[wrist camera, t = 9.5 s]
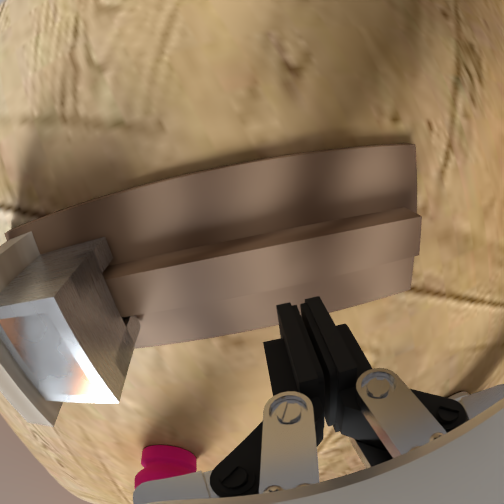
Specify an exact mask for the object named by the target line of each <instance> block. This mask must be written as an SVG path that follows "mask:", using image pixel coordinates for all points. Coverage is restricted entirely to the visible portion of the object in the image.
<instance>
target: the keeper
mask: <svg viewBox="0 0 504 504" xmlns="http://www.w3.org/2000/svg"><path fill="white" fill-rule="evenodd" d="M112 259H113V257H112V254H111V251H110V248H109V246H108V243H107V240H106V237H102V238H98V239H94V240H91V241H87V242H83V243H80V244H76V245H72V246H69V247H65V248H62V249H58V250H55V251H51V252H48V253H44V254H41V255H40V256H38V257H37V258H36V259H35V260H34V261H33V262H32V263H31V264H30V265H28V266H27V267H26V268H25V269H24V270H23V271H22V272H21V273H20V274H19V275H18V276H17V277H16V278H15V279H14V280H13V281H12V282H11V283H10V284H9V285H8V286H7V287H6V288H5V289H4V290H3V291H2V292H1V293H0V338H1V339H2V341H3V343H4V344H5V346H6V347H7V349H8V350H9V352H10V353H11V355H12V356H13V358H14V359H15V361H16V362H17V364H18V365H19V366H20V368H21V369H22V371H23V372H24V373H25V375H26V376H27V377H28V379H29V380H30V381H31V383H32V384H33V385H34V386H35V388H36V389H37V390H38V391H39V393H40V394H41V395H42V396H43V397H44V399H45V400H46V401H59V402H78V403H119V401H120V397H121V393H122V389H123V386H124V382H125V378H126V375H127V371H128V367H129V364H130V360H131V357H132V354H133V350H134V347H135V344H136V340H137V337H138V334H139V331H140V328H141V325H140V323H139V320H138V318H137V316H136V315H134V316H127V317H121V315H120V313H119V311H118V309H117V307H116V304H115V302H114V300H113V298H112V295H111V293H110V291H109V288H108V286H107V284H106V281H105V279H104V276H103V274H102V273H103V272H104V270H105V269H106V267H107V266H108V265H109V263H110V262H111V260H112Z"/></svg>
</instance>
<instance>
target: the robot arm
mask: <svg viewBox="0 0 504 504" xmlns="http://www.w3.org/2000/svg"><path fill="white" fill-rule="evenodd" d="M276 309H277V315H278V322H279V328H280V335H281V339H276V340H271V341H266V342H263V344H264V349H265V354H266V360H267V365H268V371H269V376H270V381H271V387H272V392H273V397H272V398H271V399H269V400H268V402H267V403H266V405H265V407H264V411H263V421H262V422H261V423H260V424H259V425H258V426H257V427H256V428H255V429H254V430H253V431H252V433H251V434H250V435H249V436H248V437H247V438H246V439H245V440H243V441H242V442H241V443H240V444H239V445H238V446H237V447H236V448H235V449H234V450H233V451H232V452H231V453H230V454H229V455H228V456H227V457H226V458H225V459H224V460H222V461H221V462H220V463H219V464H218V465H217V466H216V467H215V468H214V470H212V471H208V472H204V473H202V471H198V472H194V473H190V474H185V475H180V476H175V477H170V478H165V479H159V480H153V481H147V482H144V483H141V484H140V485H139V486H138V487H136V489H135V491H134V493H133V502H134V504H504V384H501V385H497V386H494V387H492V388H489V389H486V390H483V391H480V392H477V393H474V394H471V395H469V393H468V392H459V393H456V394H454V395H452V396H450V397H448V398H446V397H441V396H437V395H433V394H429V393H424V392H420V391H417V390H413V389H409V388H408V387H407V385H406V384H405V383H404V382H403V381H402V380H401V379H400V378H399V376H398V375H397V374H395V373H394V372H393V371H391V370H388V369H384V368H374V369H372V367H371V365H370V364H369V362H368V360H367V358H366V357H365V355H364V353H363V351H362V350H361V348H360V346H359V344H358V343H357V341H356V339H355V338H354V336H353V334H352V332H351V331H350V329H349V327H348V326H347V325H346V324H342V325H338V326H335V324H334V322H333V320H332V318H331V316H330V315H329V313H328V311H327V309H326V307H325V305H324V304H323V302H322V300H321V298H320V297H319V296H316V297H312V298H307V299H305V303H302V304H300V309H301V315H300V312H299V310H298V307H297V305H293V306H292V305H291V303H290V302H289V303H284V304H279V305H276ZM324 416H325V419H326V422H327V425H328V426H332V425H333V427H334V430H335V432H338V431H340V432H341V434H343V435H346V436H348V437H349V439H350V442H351V444H352V445H353V447H354V449H355V451H356V452H357V454H358V456H359V457H360V459H361V461H362V462H363V464H364V466H365V467H366V469H364V470H361V471H358V472H355V473H352V474H348V475H345V476H342V477H338V478H335V479H331V480H327V481H324V482H320V483H319V471H318V457H317V446H318V445H319V444H320V442H321V441H322V440H323V428H324Z"/></svg>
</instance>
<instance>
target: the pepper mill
mask: <svg viewBox="0 0 504 504" xmlns="http://www.w3.org/2000/svg"><path fill="white" fill-rule="evenodd" d="M141 464H142V466H143V467H144V469H143V470H141V471H140V472H139V473H138V474H137V475H136V476H135V489H136V487H138V486H139V485H140V484H141V483H144V482H147V481H153V480H159V479H165V478H170V477H175V476H180V475H185V474H190V473H194V472H196V470H197V468H196V457H195V456H194V455H193V454H192V453H191V452H189V451H187V450H185V449H182V448H179V447H174V446H168V445H153V446H148V447H146V448H145V449H144V450H143V451H142V459H141Z"/></svg>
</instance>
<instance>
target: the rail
mask: <svg viewBox="0 0 504 504" xmlns="http://www.w3.org/2000/svg"><path fill="white" fill-rule="evenodd" d="M421 220H422V216H420V215H418V214H417V168H416V147H415V144H409V143H404V144H386V145H372V146H359V147H348V148H338V149H329V150H321V151H313V152H305V153H297V154H290V155H284V156H277V157H271V158H265V159H259V160H253V161H247V162H242V163H236V164H231V165H226V166H221V167H216V168H211V169H207V170H202V171H197V172H193V173H189V174H184V175H180V176H176V177H172V178H168V179H163V180H160V181H156V182H152V183H148V184H144V185H140V186H137V187H133V188H130V189H126V190H123V191H119V192H116V193H112V194H109V195H106V196H102V197H99V198H96V199H93V200H90V201H87V202H84V203H81V204H78V205H75V206H72V207H69V208H66V209H63V210H60V211H57V212H54V213H52V214H49V215H46V216H44V217H41V218H38V219H36V220H33V221H30V222H28V223H25V224H23V225H20V226H18V227H15V228H13V229H11V230H9V231H8V232H6V233H5V236H6V239H7V242H5V243H4V244H2V245H1V246H0V293H1V292H2V291H3V290H4V289H5V288H6V287H7V286H8V285H9V284H10V283H11V282H12V281H13V280H14V279H15V278H16V277H17V276H18V275H19V274H20V273H21V272H22V271H23V270H24V269H25V268H26V267H27V266H28V265H30V264H31V263H32V262H33V261H34V260H35V259H36V258H37V257H38V256H40V255H41V254H44V253H48V252H51V251H55V250H58V249H62V248H65V247H69V246H72V245H76V244H80V243H83V242H87V241H91V240H94V239H98V238H102V237H106V240H107V243H108V246H109V248H110V251H111V254H112V257H113V259H112V260H111V262H110V263H109V265H108V266H107V267H106V269H105V270H104V272H103V273H102V274H103V276H104V279H105V281H106V284H107V286H108V288H109V291H110V293H111V295H112V298H113V300H114V302H115V304H116V307H117V309H118V311H119V313H120V315H121V317H127V316H134V315H136V316H137V318H138V320H139V323H140V325H141V328H140V331H139V334H138V337H137V340H136V344H135V347H134V349H135V348H144V347H152V346H159V345H167V344H174V343H181V342H188V341H194V340H200V339H206V338H212V337H218V336H224V335H229V334H235V333H240V332H245V331H250V330H255V329H260V328H265V327H270V326H275V325H279V322H278V315H277V309H276V305H279V304H284V303H289V302H290V303H291V305H292V306H293V305H297V307H298V310H299V312H300V315H301V309H300V304H302V303H305V299H307V298H312V297H316V296H319V297H320V298H321V300H322V302H323V304H324V305H325V307H326V309H327V311H328V313H330V312H334V311H338V310H342V309H345V308H349V307H353V306H357V305H360V304H364V303H367V302H371V301H374V300H378V299H381V298H384V297H388V296H391V295H394V294H398V293H401V292H404V291H407V290H410V288H411V280H412V272H413V262H414V256H417V255H419V250H420V237H421ZM0 392H1V393H2V394H3V395H4V396H5V398H6V399H7V400H8V401H9V402H10V403H11V405H12V406H13V407H14V408H15V409H16V410H17V411H18V412H19V413H20V415H21V416H22V417H23V418H24V419H25V420H26V421H27V422H28V423H33V424H39V425H45V426H52V427H54V424H55V422H56V419H57V416H58V413H59V411H60V408H61V406H62V403H63V402H59V401H46V400H45V399H44V397H43V396H42V395H41V394H40V393H39V391H38V390H37V389H36V388H35V386H34V385H33V384H32V383H31V381H30V380H29V379H28V377H27V376H26V375H25V373H24V372H23V371H22V369H21V368H20V366H19V365H18V364H17V362H16V361H15V359H14V358H13V356H12V355H11V353H10V352H9V350H8V349H7V347H6V346H5V344H4V343H3V341H2V339H1V338H0Z"/></svg>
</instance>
